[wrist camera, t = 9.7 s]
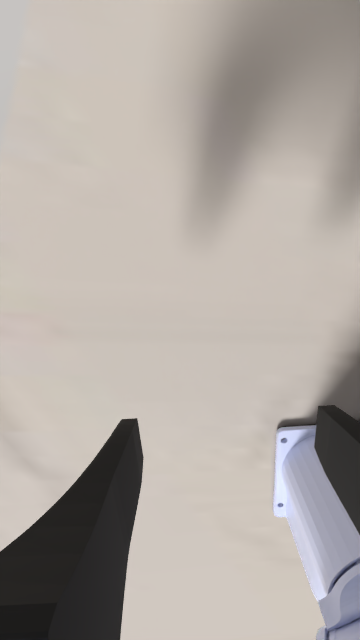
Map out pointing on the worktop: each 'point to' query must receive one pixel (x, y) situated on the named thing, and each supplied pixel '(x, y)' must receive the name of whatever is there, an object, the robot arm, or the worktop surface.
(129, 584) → the worktop surface
